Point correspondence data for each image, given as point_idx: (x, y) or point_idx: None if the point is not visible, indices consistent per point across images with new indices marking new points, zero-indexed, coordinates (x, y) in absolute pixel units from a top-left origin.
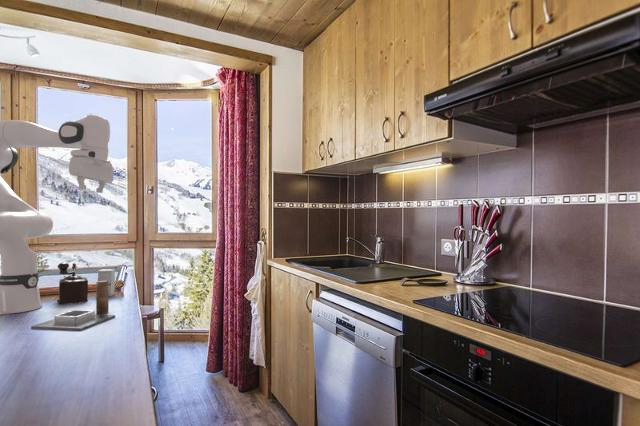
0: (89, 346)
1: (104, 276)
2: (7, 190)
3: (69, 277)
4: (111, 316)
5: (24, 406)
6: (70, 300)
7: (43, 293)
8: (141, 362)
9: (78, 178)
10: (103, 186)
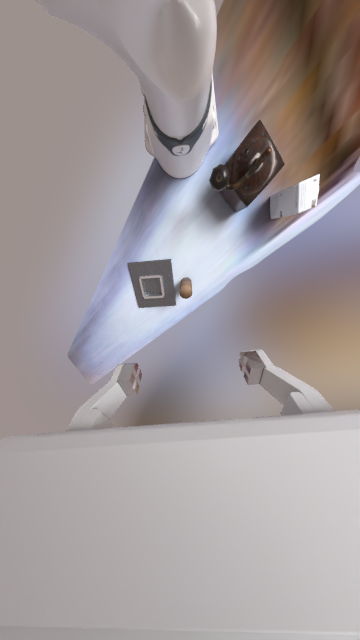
0: (121, 333)
1: (290, 201)
2: None
3: (244, 167)
4: (171, 305)
5: (73, 354)
6: (223, 195)
7: None
8: None
9: (77, 423)
10: (275, 396)
